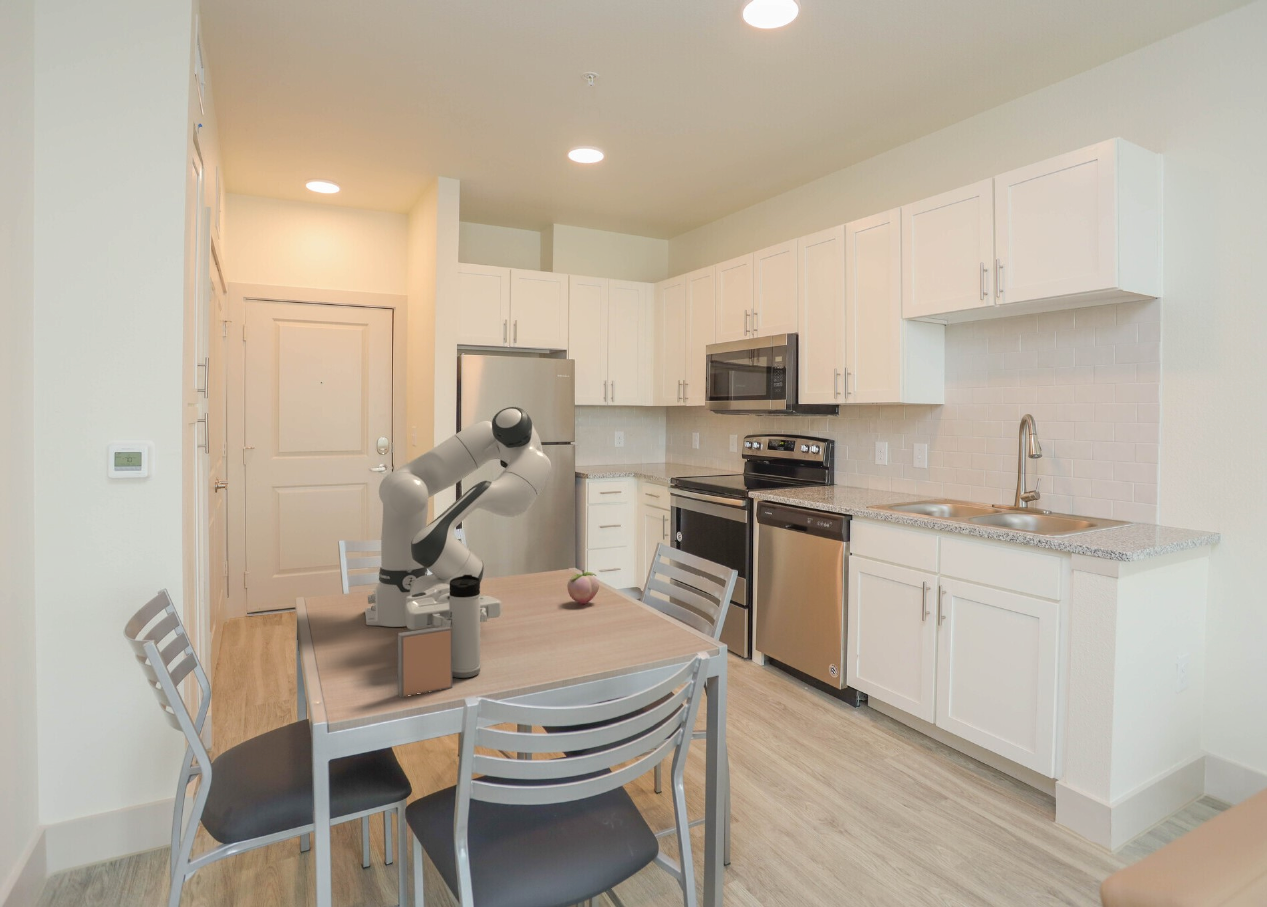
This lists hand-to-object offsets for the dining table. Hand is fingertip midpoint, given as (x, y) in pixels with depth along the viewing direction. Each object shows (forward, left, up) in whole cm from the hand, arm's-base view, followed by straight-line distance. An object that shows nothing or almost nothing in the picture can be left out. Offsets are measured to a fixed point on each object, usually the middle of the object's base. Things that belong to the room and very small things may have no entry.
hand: (466, 620), depth 149 cm
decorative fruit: (-38, +48, -12) cm, 62 cm away
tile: (+4, -10, -11) cm, 16 cm away
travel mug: (-1, 0, -11) cm, 11 cm away
